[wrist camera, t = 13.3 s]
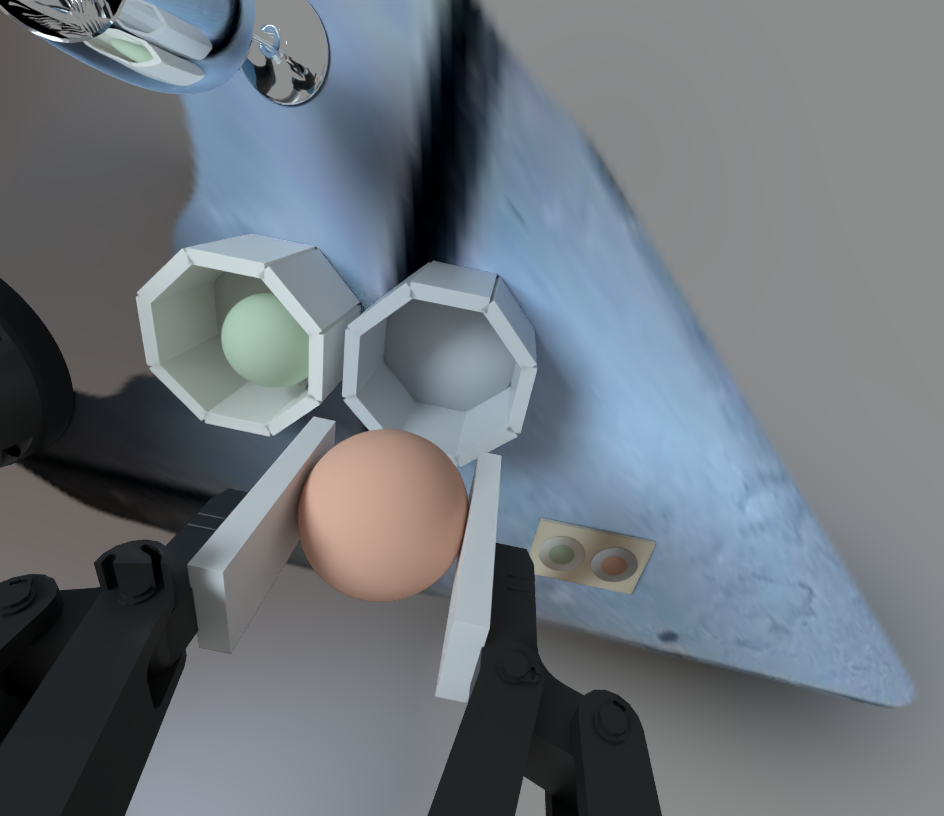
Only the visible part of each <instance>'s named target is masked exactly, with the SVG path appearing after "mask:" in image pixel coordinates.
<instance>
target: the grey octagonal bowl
mask: <svg viewBox="0 0 944 816" xmlns="http://www.w3.org/2000/svg"><path fill="white" fill-rule="evenodd" d="M496 277H497V274H495V273H490V272H486V271H481V270H476V269H471V268H466V267H461V266H456V265H451V264H446V263H441V262H437V261H433V262H431V263H430V262H428V263H427V264H426V265H424V266H423V267H422V268H420V269H419V270H418V271H416V272H415V273H413V274H412V275H411V276H409V277H408V278H407V279H405V280H404V281H403V282H401V283H400V284H399V285H397V286H396V287H394V288H393V289H392V290H390V291H389V292H388V293H386V294H385V295H384V296H382V297H381V298H380V299H378V300H377V301H376V302H375V303H374V304H372V305H371V306H370V307H369V308H368V309H367V310H365V311H364V312H363V313H362V314H361V315H359V316H358V317H357V318H356V319H355V320H353V321H352V322H351V323H350V324H349V325H348V328H346V329H345V346H344V365H343V385H342V397H346V398H345V399H344V400H343V401H344V402H345V403H346V404H347V405H348V406H349V408H350V409H351V410H352V411H353V412H354V413H355V415H356V416H357V417H358V418H359V419H360V420H361V422H362V423H363V424H364V425H365V426H366V427H367V429H368V430H369V431H371V430H378V429H396V430H403V431H407V432H411V433H414V434H416V435H419V436H421V437H423V438H425V439H427V440H429V441H431V442H432V443H434V444H435V445H436V446H438V447H439V448H440V449H441V450H442V451H444V452H445V453H446V455H447V456H448V457H449V458H450V459H451V460H452V462H453V463H454V465H455V466H456V467H457V464H459V466H460V467H462V466H464V465H465V464H467V463H469V462H471V461H473V460H475V459H477V458H478V455H479V451H482V452H486V453H488V452H490V451H492V450H494V449H495V448H497V447H499V446H501V445H503V444H505V443H507V442H509V441H511V440H512V439H514V438H516V437H518V433H521V429H522V426H523V422H524V418H525V414H526V411H527V407H528V403H529V399H530V395H531V392H532V388H533V384H534V380H535V377H536V373H537V354H536V339H535V329H534V328H533V326H532V324H531V323H530V321H529V320H528V318H527V317H526V315H525V314H524V312H523V310H522V309H521V307H520V306H519V304H518V303H517V301H516V300H515V298H514V297H513V295H512V293H511V292H510V290H509V289H508V287H507V286H506V284H505V283H504V281H503V279H502V278H501V276H500V277H498V278H497V279H496Z"/></svg>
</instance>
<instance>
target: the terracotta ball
mask: <svg viewBox="0 0 944 816" xmlns="http://www.w3.org/2000/svg"><path fill="white" fill-rule="evenodd" d="M468 512H469V504H468V497H467V491H466V488H465V485H464V482H463V479H462V477H461V475H460V473H459V471H458V469H457V468H456V466H455V465H454V463H453V462H452V460H451V459H450V458H449V457H448V456H447V455H446V453H445V452H444V451H442V450H441V449H440V448H439V447H438V446H436V445H435V444H434V443H432V442H431V441H429V440H427V439H425V438H423V437H421V436H419V435H416V434H414V433H411V432H407V431H403V430H396V429H378V430H371V431H366V432H362V433H360V434H357V435H354V436H352V437H350V438H348V439H346V440H344V441H342V442H340V443H339V444H337V445H336V446H335V447H333V448H332V449H331V450H329V451H328V452H327V453H326V454H325V455H324V456H323V457H322V458H321V459H320V460H319V462H318V463H317V464H316V465H315V467H314V468H313V470H312V471H311V473H310V475H309V476H308V478H307V480H306V482H305V484H304V487H303V490H302V493H301V496H300V500H299V506H298V515H297V519H298V533H299V537H300V541H301V545H302V548H303V551H304V553H305V555H306V557H307V559H308V561H309V562H310V564H311V566H312V567H313V569H314V570H315V572H316V573H317V574H318V575H319V576H320V577H321V578H322V579H323V580H324V581H325V582H327V583H328V584H329V585H330V586H331V587H333V588H334V589H336V590H337V591H339V592H341V593H343V594H345V595H347V596H350V597H353V598H356V599H359V600H364V601H371V602H388V601H395V600H400V599H403V598H406V597H409V596H412V595H415V594H417V593H419V592H421V591H423V590H424V589H426V588H427V587H429V586H430V585H432V584H433V583H435V582H436V581H437V580H438V579H439V578H440V577H441V576H442V575H443V574H444V573H445V572H446V571H447V570H448V568H449V567H450V566H451V565H452V563H453V562H454V560H455V559H456V557H457V555H458V553H459V551H460V549H461V546H462V543H463V538H464V534H465V529H466V523H467V518H468Z"/></svg>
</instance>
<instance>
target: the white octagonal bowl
mask: <svg viewBox="0 0 944 816" xmlns="http://www.w3.org/2000/svg"><path fill="white" fill-rule="evenodd" d="M263 292H273V294H274V295H275V296H276V297H277V298H278V300H279V301H280V302H281V303H282V304H283V305H284V307H285V308H286V309H287V310H288V311H289V313H290V314H291V315H292V316H293V317H294V319H295V320H296V321H297V322H298V323H299V324H300V326H301V327H302V328H303V329H304V330H305V332H306V333H307V334H308V335H309V376H308V377H307V378H306V379H304V380H303V381H301V382H299V383H297V384H294V385H291V386H287V387H281V388H271V387H264V386H260V385H257V384H254V383H252V382H250V381H248V380H246V379H245V378H243V377H242V376H241V375H239V374H238V373H237V372H236V371H235V370H234V369H233V368H232V366H231V365H230V363H229V362H228V360H227V359H226V356H225V354H224V351H223V348H222V341H221V332H222V327H223V323H224V321H225V318H226V316H227V315H228V313H229V312H230V311H231V309H232V308H233V307H234V306H235V305H236V304H237V303H238V302H240V301H241V300H243V299H245V298H247V297H249V296H251V295H254V294H258V293H263ZM137 294H138V295H139V296H136V303H137V308H138V315H139V321H140V327H141V333H142V339H143V345H144V351H145V358H146V364H147V365H149V366H152V367H150V368H149V369H150V370H151V371H152V372H153V373H154V374H155V375H156V376H157V377H158V378H159V379H160V380H161V381H162V382H163V383H164V384H165V385H166V386H167V387H168V388H169V389H170V390H171V391H172V392H173V393H174V394H175V395H176V396H177V397H178V398H179V399H180V400H181V401H182V402H183V403H184V404H185V405H186V406H187V407H188V408H189V409H190V410H191V411H192V412H193V413H194V414H195V415H196V416H197V417H198V418H199V419H200V420H201V421H202V420H203V419H205V423H207V424H212V425H217V426H221V427H226V428H231V429H236V430H241V431H245V432H250V433H255V434H260V435H265V436H269V437H270V436H271V435H273V436H274V435H275V434H277V433H278V432H280V431H281V430H283V429H284V428H286V427H287V426H289V425H290V424H292V423H293V422H295V421H296V420H298V419H299V418H301V417H302V416H304V415H305V414H307V413H308V412H310V411H311V410H313V409H314V408H316V407H317V406H319V405H320V404H321V403H322V402H323V401H324V400H325V399H326V397H327V396H328V395H329V394H330V393H331V392H332V391H333V390H334V389H335V387H336V386H337V385H338V384H339V383H340V382H341V381H342V380H343V365H344V346H345V329H346V328H348V325H349V324H350V323H351V322H352V321H353V320H355V319H356V318H357V317H358V316H359V315H361V306H360V305H357V304H358V303H360V301H359V300H358V299H357V297H356V296H355V295H354V294H353V292H352V291H351V290H350V288H349V287H348V286H347V285H346V283H345V282H344V281H343V279H342V278H341V277H340V276H339V274H338V273H337V272H336V270H335V269H334V268H333V267H332V265H331V264H330V263H329V261H328V260H327V259H326V258H325V256H324V255H323V254H322V252H321V251H320V250H319V249H316V250H315V246H311V245H306V244H301V243H296V242H291V241H286V240H282V239H277V238H272V237H267V236H262V235H257V234H248V235H243V236H238V237H234V238H229V239H224V240H219V241H214V242H210V243H205V244H200V245H195V246H191V247H186V248H182V249H181V250H180V251H179V252H178V253H177V254H176V255H175V256H174V257H173V258H172V259H171V260H170V261H169V262H168V263H167V264H166V265H165V266H164V267H163V268H162V269H161V270H159V271H158V272H157V273H156V274H155V275H154V276H153V277H152V278H151V279H150V280H149V281H148V282H147V283H146V284H145V285H144V286H143V287H142V288H141V289H140V290H139V291H138V292H137Z"/></svg>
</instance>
